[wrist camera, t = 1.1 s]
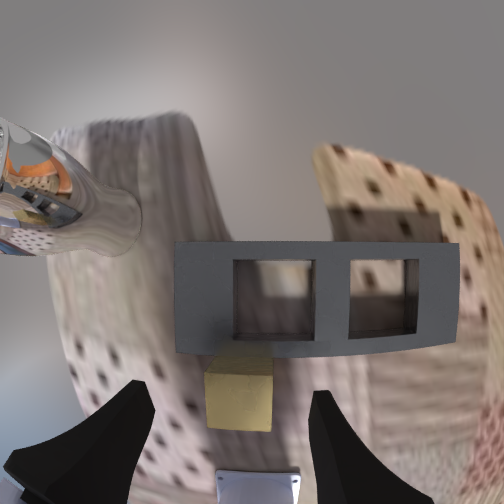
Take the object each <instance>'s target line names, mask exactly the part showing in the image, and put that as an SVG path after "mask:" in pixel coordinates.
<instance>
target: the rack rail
mask: <svg viewBox="0 0 504 504" xmlns="http://www.w3.org/2000/svg"><path fill="white" fill-rule="evenodd" d="M238 260H274V261H294V260H295V261H308V260H312V281H311V328H310V333H305V334H259V333H237V278H238ZM350 260H406V288H405V313H404V327H403V328H398V329H386V330H373V331H358V332H349V311H350ZM459 290H460V252H459V243H420V242H321V241H320V242H319V241H316V242H315V241H313V242H312V241H310V242H307V241H305V242H303V241H299V242H298V241H290V242H289V241H281V242H280V241H276V242H275V241H267V242H266V241H252V242H251V241H242V242H241V241H228V242H175V255H174V311H175V342H176V352H177V353H187V354H199V355H213V356H230V357H258V358H305V357H333V356H350V355H363V354H374V353H385V352H394V351H402V350H410V349H417V348H424V347H430V346H436V345H442V344H448V343H453V342H455V341H456V332H457V322H458V310H459Z"/></svg>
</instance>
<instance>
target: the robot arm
mask: <svg viewBox="0 0 504 504" xmlns="http://www.w3.org/2000/svg"><path fill="white" fill-rule="evenodd" d="M154 414H155V408H154V406H153V403H152V400H151V398H150V395H149V392H148V389H147V387H146V384H145V382H144V381H138V380H132V381H131V382H129V383H128V384H127V385H126V386H125V387H124V388H123V389H122V390H121V391H119V392H118V393H117V394H116V395H115V396H114V397H113V398H112V399H110V400H109V401H108V402H107V403H106V404H105V405H103V406H102V407H101V408H100V409H99V410H97V411H96V412H95V413H94V414H92V415H91V416H90V417H88V418H87V419H86V420H84V421H83V422H81V423H80V424H78V425H77V426H75V427H74V428H72V429H70V430H68V431H67V432H65V433H63V434H61V435H59V436H57V437H55V438H52V439H50V440H48V441H45V442H42V443H40V444H37V445H34V446H30V447H26V448H22V449H17V450H14V451H13V452H12V453H11V455H10V456H9V458H8V460H7V461H6V463H5V464H4V466H3V467H4V470H5V471H6V472H7V473H8V474H9V475H10V476H11V477H12V478H14V479H15V480H16V481H17V482H18V483H20V484H21V485H22V486H23V487H24V488H25V489H24V491H22V490H20V489H19V488H18V487H16V486H15V485H14V484H12V483H11V482H10V481H8V480H7V479H6V478H3V479H2V481H1V483H0V504H127V500H128V495H129V490H130V485H131V481H132V477H133V473H134V470H135V467H136V464H137V462H138V459H139V457H140V454H141V452H142V449H143V447H144V445H145V442H146V440H147V437H148V435H149V432H150V430H151V426H152V422H153V418H154ZM308 425H309V441H310V447H311V453H312V459H313V465H314V470H315V476H316V483H317V499H318V504H434V502H433V500H432V498H431V497H429V496H427V495H425V494H423V493H421V492H420V491H418V490H416V489H415V488H413V487H412V486H410V485H409V484H407V483H406V482H404V481H403V480H402V479H400V478H399V477H398V476H396V475H395V474H394V473H393V472H392V471H390V470H389V469H388V468H387V467H386V466H385V465H383V464H382V463H381V462H380V461H379V460H378V459H377V458H376V457H375V456H374V455H373V454H372V452H371V451H370V450H369V449H368V448H367V447H366V446H365V444H364V443H363V442H362V441H361V439H360V438H359V437H358V436H357V434H356V433H355V432H354V430H353V429H352V427H351V426H350V424H349V423H348V422H347V420H346V419H345V417H344V415H343V414H342V412H341V410H340V409H339V407H338V405H337V404H336V402H335V400H334V398H333V396H332V394H331V392H330V391H329V390H321V391H314V392H313V398H312V403H311V408H310V413H309V418H308ZM215 477H216V487H217V497H218V504H297V501H298V494H299V488H300V481H301V474H300V473H255V472H238V471H226V470H217V471H216V474H215ZM220 477H222V478H220ZM293 480H296V481H293Z"/></svg>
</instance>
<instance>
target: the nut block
mask: <svg viewBox="0 0 504 504" xmlns="http://www.w3.org/2000/svg"><path fill="white" fill-rule="evenodd" d="M204 380H205V400H206V416H207V428H216V429H227V430H241V431H267V432H271V422H272V393H273V358H258V357H230V356H216V357H215V358H214V360H213V361H212V362H211V364H210V365H209V367H208V368H207V369H206V371H205V372H204Z"/></svg>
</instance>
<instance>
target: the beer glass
mask: <svg viewBox="0 0 504 504" xmlns="http://www.w3.org/2000/svg"><path fill="white" fill-rule="evenodd" d="M141 221H142V216H141V210H140V206H139V204H138V202H137V200H136V199H135V197H134V196H133V195H132V194H131V193H129V192H127V191H125V190H123V189H118V188H111V187H108V186H105V185H104V184H102V183H101V182H99V181H98V180H97V179H96V178H95V177H94V176H93V175H92V174H91V173H90V172H89V171H88V170H87V169H86V168H85V167H84V166H83V165H82V164H81V163H80V162H79V161H77V160H76V159H75V158H74V157H73V156H71V155H70V154H69V153H68V152H67V151H65V150H64V149H62V148H61V147H59V146H58V145H56V144H55V143H53V142H52V141H50V140H48V139H46V138H44V137H42V136H40V135H38V134H37V133H34V132H32V131H30V130H28V129H25V128H23V127H21V126H18V125H16V124H13V123H11V122H9V121H7V120H5V119H4V118H2V117H0V254H6V255H15V256H43V255H53V254H58V253H64V252H70V251H75V250H90V251H93V252H95V253H97V254H99V255H102V256H105V257H116V256H119V255H122V254H123V253H125V252H126V251H128V250H129V249H130V248H131V247H132V245H133V244H134V243H135V241H136V239H137V237H138V235H139V232H140V228H141Z"/></svg>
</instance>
